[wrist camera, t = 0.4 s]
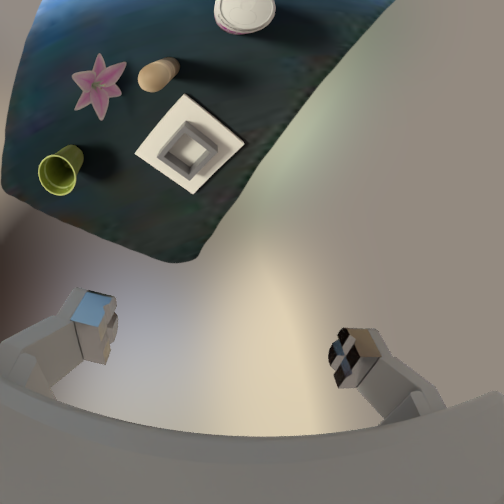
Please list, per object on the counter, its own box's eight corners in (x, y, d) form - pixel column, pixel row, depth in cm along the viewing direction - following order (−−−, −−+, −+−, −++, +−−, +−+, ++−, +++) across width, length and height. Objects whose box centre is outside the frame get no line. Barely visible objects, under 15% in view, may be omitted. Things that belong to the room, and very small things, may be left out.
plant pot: (93, 173, 54) (79, 194, 48) (60, 176, 52) (44, 197, 46) (87, 135, 47) (71, 152, 41) (52, 140, 46) (33, 158, 40)
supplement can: (253, 39, 40) (267, 39, 29) (208, 29, 37) (206, 24, 26) (266, 3, 34) (286, -8, 24) (222, -8, 32) (225, -25, 21)
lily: (106, 118, 47) (114, 126, 41) (57, 104, 38) (56, 109, 32) (132, 67, 43) (145, 66, 38) (84, 48, 34) (88, 43, 29)
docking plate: (184, 93, 46) (182, 98, 42) (243, 142, 55) (246, 150, 51) (136, 151, 52) (130, 160, 49) (193, 191, 61) (192, 203, 58)
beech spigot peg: (167, 52, 39) (151, 57, 29) (184, 65, 42) (174, 74, 32) (151, 70, 41) (132, 81, 31) (169, 82, 44) (154, 97, 34)
